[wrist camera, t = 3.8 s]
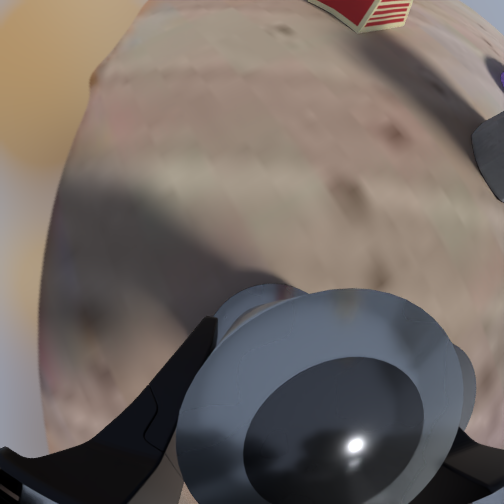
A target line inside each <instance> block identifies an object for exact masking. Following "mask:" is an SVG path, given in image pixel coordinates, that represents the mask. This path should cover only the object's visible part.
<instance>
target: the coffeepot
mask: <svg viewBox="0 0 504 504" xmlns="http://www.w3.org/2000/svg"><path fill="white" fill-rule="evenodd" d="M471 136H472V146H473V151H474V155H475V159H476V162H477V164H478V167H479V169H480V171H481V173H482V175H483V177H484V179H485V181H486V182H487V184H488V186H489V187H490V188H491V190H492V191H493V193H494V194H495V195H496V196H497V197H498V198H499V199H500V200H501V201H502V202H503V203H504V111H503V112H501V113H499V114H498V115H496V116H494V117H492V118H490V119H488V120H487V121H485V122H483V123H481V125H480V126H479V127H478V128H477V129H476V130H475V132H474V133H473V134H472V135H471Z"/></svg>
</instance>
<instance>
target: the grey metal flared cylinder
mask: <svg viewBox="0 0 504 504" xmlns="http://www.w3.org/2000/svg"><path fill="white" fill-rule="evenodd" d="M214 317H217V318H218V338H217V345H216V348H215V349H214V350H213V352H212V353H211V355H210V356H209V357H208V359H207V360H206V362H205V363H204V364H203V366H202V367H201V368H200V370H199V371H198V373H197V374H196V376H195V378H194V380H193V381H192V383H191V385H190V387H189V389H188V391H187V392H186V395H185V398H184V400H183V403H182V406H181V409H180V412H179V417H178V422H177V427H176V453H177V460H178V465H179V468H180V471H181V474H182V477H183V480H184V482H185V484H186V485H187V487H188V489H189V491H190V493H191V494H192V496H193V497H194V498H195V500H196V501H197V502H198V503H199V504H408V503H409V502H410V501H412V500H413V499H414V498H415V497H416V496H417V495H418V494H419V493H420V492H421V491H422V490H423V489H424V488H425V486H426V485H427V484H428V483H429V482H430V480H431V479H432V478H433V477H434V475H435V474H436V473H437V471H438V470H439V468H440V467H441V465H442V463H443V462H444V460H445V458H446V456H447V454H448V452H449V451H450V449H451V446H452V444H453V441H454V439H455V436H456V434H457V430H458V427H459V423H460V419H461V414H462V407H463V378H462V371H461V367H460V363H459V359H458V356H457V354H456V351H455V349H454V347H453V344H452V342H451V341H450V339H449V338H448V336H447V334H446V333H445V331H444V330H443V329H442V327H441V326H440V325H439V324H438V323H437V322H436V321H435V319H434V318H432V317H431V316H430V315H429V314H428V313H426V312H425V311H424V310H423V309H421V308H420V307H418V306H416V305H415V304H413V303H411V302H410V301H408V300H406V299H403V298H401V297H398V296H395V295H393V294H390V293H385V292H381V291H376V290H370V289H355V288H348V289H334V290H327V291H322V292H317V293H312V294H308V293H306V292H304V291H302V290H300V289H298V288H295V287H292V286H288V285H283V284H263V285H257V286H253V287H250V288H247V289H245V290H243V291H241V292H239V293H237V294H236V295H234V296H232V297H231V298H230V299H229V300H227V301H226V302H225V303H224V304H223V305H222V306H221V307H220V308H219V310H218V311H217V312H216V314H215V315H214Z"/></svg>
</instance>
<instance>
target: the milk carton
mask: <svg viewBox="0 0 504 504" xmlns="http://www.w3.org/2000/svg"><path fill="white" fill-rule="evenodd" d="M308 2H310V3H312V4H314V5H316V6H318V7H320V8H322V9H324V10H326V11H328V12H330V13H331V14H333V15H334V16H335V17H337V18H338V19H339V20H341V21H342V22H343V23H345V24H346V25H347V26H349V27H350V28H351V29H352V30H354V31H355V32H356V33H357V34H360V33H365V32H371V31H377V30H383V29H388V28H394V27H400V26H404V24H405V21H406V19H407V16H408V13H409V10H410V8H411V5H412V2H413V0H308Z"/></svg>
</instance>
